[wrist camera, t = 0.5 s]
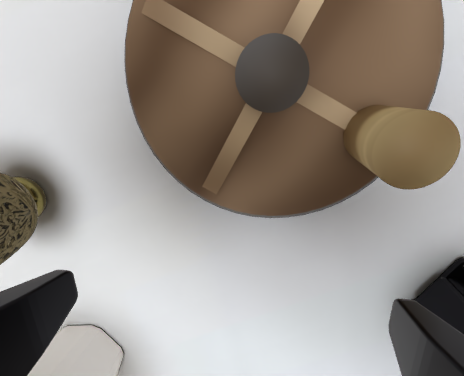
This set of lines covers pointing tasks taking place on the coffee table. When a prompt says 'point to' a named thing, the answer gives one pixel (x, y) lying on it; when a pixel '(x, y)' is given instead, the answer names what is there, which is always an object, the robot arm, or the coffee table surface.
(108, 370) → the cup
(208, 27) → the handwheel
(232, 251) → the coffee table surface
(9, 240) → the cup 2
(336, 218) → the coffee table surface
